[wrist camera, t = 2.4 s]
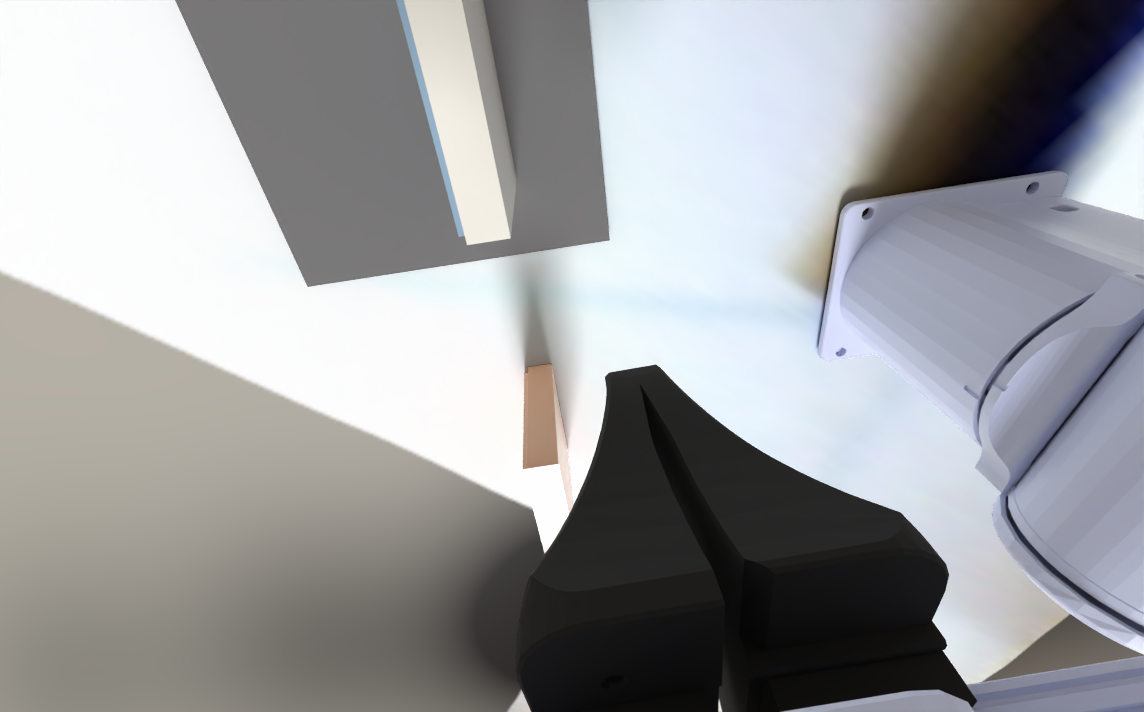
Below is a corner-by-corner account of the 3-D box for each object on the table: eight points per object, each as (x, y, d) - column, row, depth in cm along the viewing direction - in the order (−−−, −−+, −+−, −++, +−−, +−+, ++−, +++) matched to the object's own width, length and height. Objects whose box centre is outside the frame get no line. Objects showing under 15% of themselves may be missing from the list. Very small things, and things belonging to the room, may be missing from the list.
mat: (571, -150, 15) (572, -155, 14) (608, 237, 21) (609, 240, 21) (145, -81, 15) (136, -84, 14) (311, 283, 21) (307, 286, 21)
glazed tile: (481, -10, 16) (452, -44, 10) (516, 179, 19) (510, 238, 13) (438, -3, 16) (385, -33, 10) (481, 185, 19) (459, 246, 13)
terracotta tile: (551, 363, 24) (558, 464, 18) (568, 451, 28) (578, 561, 22) (523, 367, 24) (521, 469, 18) (543, 454, 28) (547, 565, 22)
